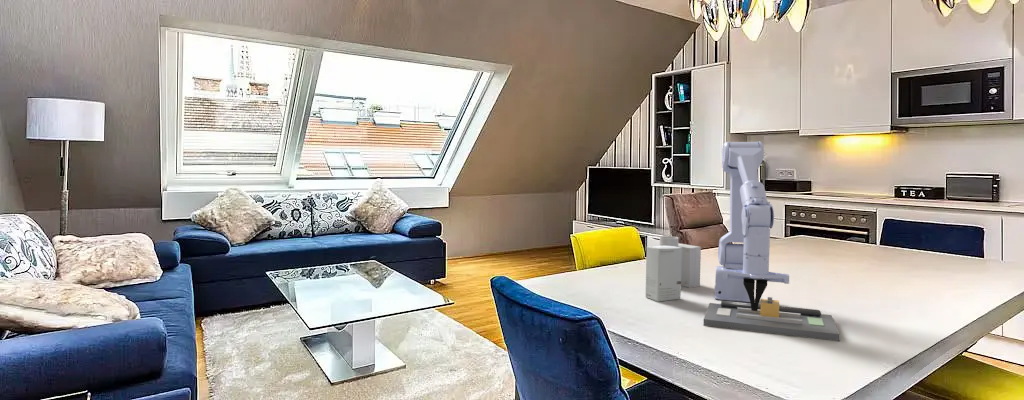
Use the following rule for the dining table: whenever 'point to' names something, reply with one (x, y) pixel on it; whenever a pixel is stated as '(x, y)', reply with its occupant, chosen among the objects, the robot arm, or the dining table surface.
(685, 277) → the white box
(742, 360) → the dining table surface
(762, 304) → the switch
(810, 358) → the dining table surface
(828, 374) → the dining table surface
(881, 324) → the dining table surface
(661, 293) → the skincare box
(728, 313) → the grey base plate
